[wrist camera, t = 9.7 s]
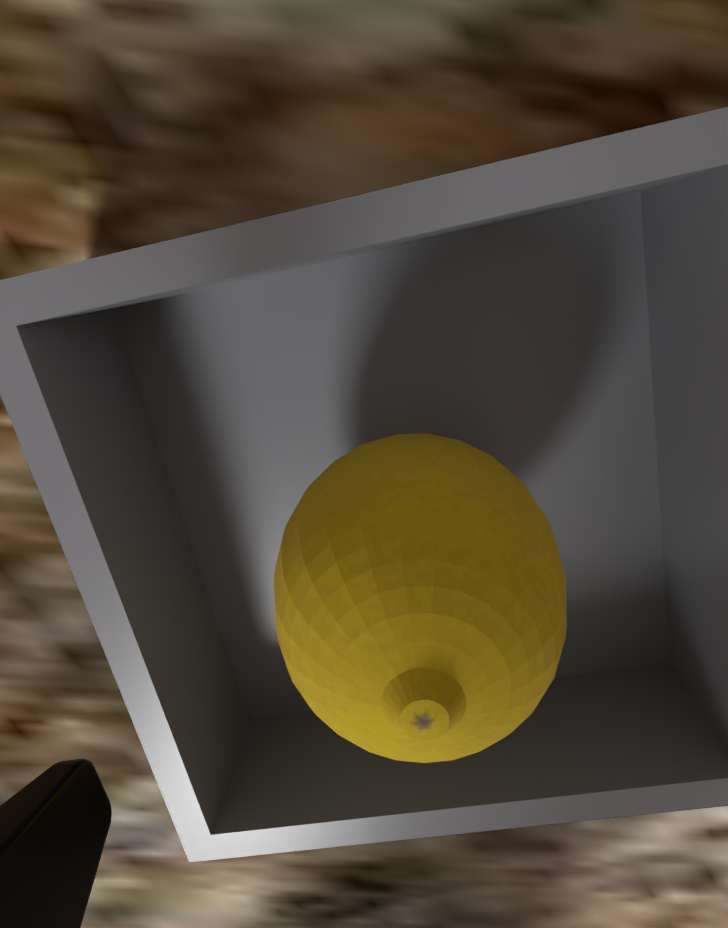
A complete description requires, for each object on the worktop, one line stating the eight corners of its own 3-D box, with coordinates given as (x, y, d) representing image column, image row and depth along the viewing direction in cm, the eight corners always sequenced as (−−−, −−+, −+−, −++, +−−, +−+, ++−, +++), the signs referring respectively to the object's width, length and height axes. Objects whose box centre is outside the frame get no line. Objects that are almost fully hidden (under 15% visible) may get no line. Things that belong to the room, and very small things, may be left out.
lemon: (480, 365, 14) (571, 477, 7) (543, 558, 16) (675, 825, 8) (273, 441, 15) (151, 614, 8) (351, 617, 17) (315, 906, 9)
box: (691, 668, 17) (785, 799, 13) (236, 728, 19) (189, 862, 15) (664, 147, 13) (790, 91, 9) (84, 282, 15) (-42, 290, 11)
